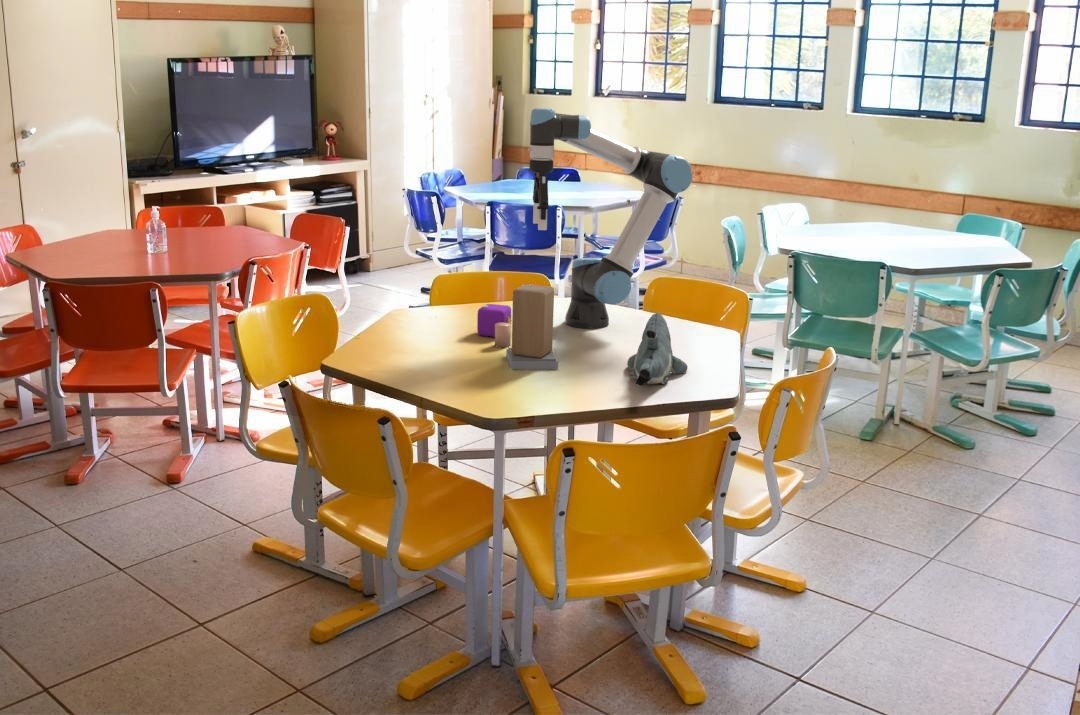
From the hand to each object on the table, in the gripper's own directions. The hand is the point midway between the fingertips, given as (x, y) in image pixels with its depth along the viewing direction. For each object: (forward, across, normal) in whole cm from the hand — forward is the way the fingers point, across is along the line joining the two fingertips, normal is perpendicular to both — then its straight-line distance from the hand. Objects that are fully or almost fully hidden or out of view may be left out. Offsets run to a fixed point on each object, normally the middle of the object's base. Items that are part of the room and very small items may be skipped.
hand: (539, 226), depth 335 cm
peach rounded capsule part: (+37, +9, -12) cm, 40 cm away
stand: (+37, +29, -5) cm, 47 cm away
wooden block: (+34, +29, -5) cm, 45 cm away
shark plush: (+37, +48, +25) cm, 66 cm away
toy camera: (+37, -7, -13) cm, 40 cm away
